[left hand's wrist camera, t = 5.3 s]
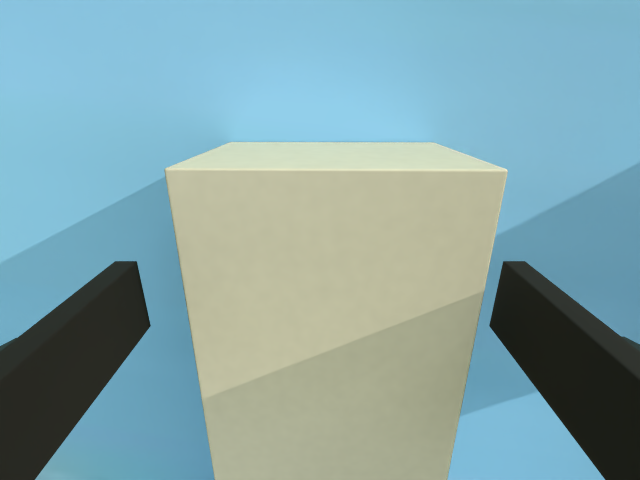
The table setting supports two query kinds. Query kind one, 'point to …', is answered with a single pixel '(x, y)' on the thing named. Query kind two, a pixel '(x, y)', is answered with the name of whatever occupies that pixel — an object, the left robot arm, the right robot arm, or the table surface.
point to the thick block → (333, 302)
